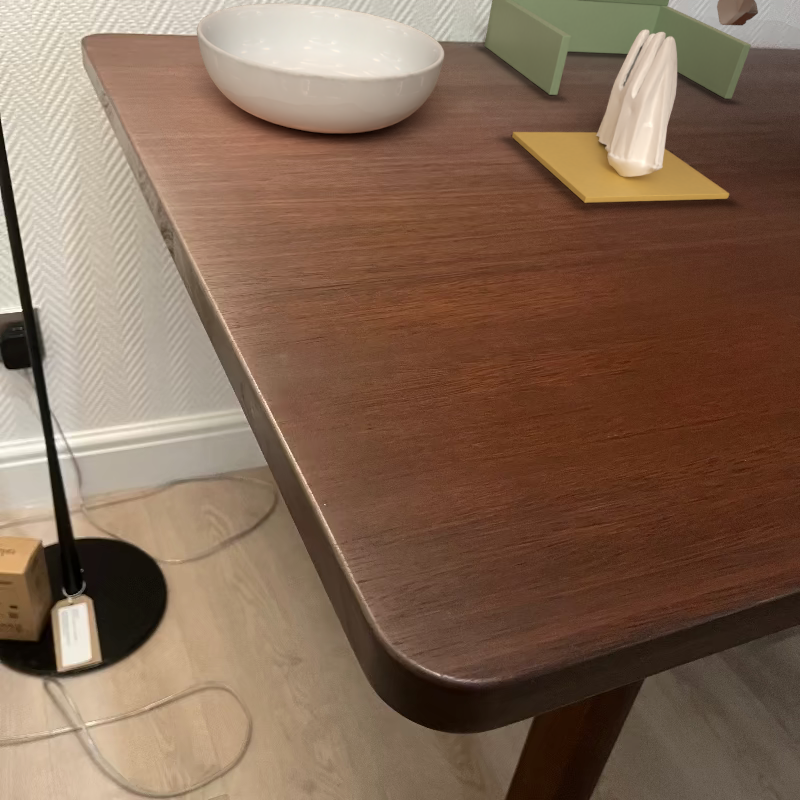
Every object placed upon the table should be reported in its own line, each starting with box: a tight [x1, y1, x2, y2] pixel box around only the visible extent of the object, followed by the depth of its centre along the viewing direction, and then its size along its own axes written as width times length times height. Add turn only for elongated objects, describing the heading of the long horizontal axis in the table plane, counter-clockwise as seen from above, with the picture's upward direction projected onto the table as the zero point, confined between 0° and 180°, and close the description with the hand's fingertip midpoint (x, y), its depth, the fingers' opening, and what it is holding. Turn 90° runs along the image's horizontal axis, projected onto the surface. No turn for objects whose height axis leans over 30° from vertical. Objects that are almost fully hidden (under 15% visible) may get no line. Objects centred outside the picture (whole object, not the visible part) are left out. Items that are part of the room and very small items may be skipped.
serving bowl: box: [196, 2, 445, 134], centre depth 71 cm, size 21×21×7 cm
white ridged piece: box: [596, 29, 678, 177], centre depth 68 cm, size 12×4×11 cm, turn 173°
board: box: [511, 131, 730, 204], centre depth 71 cm, size 14×14×1 cm
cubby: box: [483, 0, 752, 100], centre depth 95 cm, size 24×18×7 cm
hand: (784, 19), depth 54 cm, fingers open, 8 cm apart
